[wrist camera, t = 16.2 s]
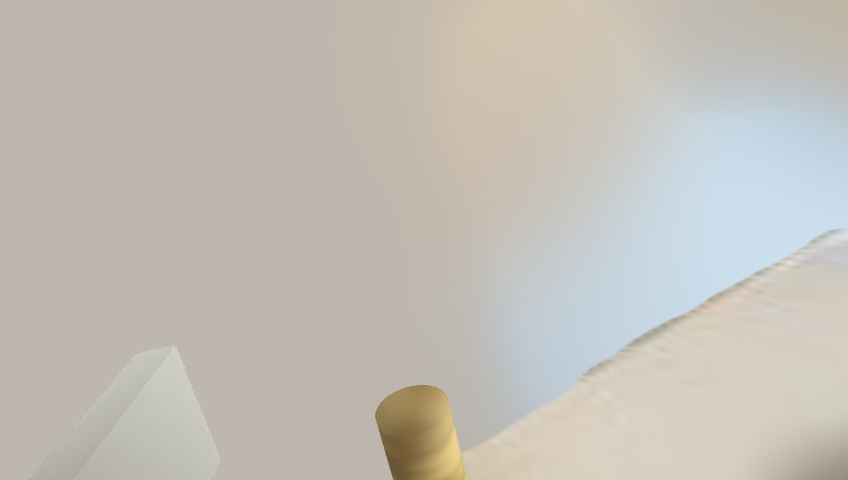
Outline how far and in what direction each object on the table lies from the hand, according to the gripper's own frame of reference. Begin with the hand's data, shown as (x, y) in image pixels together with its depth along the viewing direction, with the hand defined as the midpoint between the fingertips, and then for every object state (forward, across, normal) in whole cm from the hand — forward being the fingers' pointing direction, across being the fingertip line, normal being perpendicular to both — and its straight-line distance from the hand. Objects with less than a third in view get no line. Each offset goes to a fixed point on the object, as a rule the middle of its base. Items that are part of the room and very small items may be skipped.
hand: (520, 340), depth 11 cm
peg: (+17, -4, -28) cm, 33 cm away
